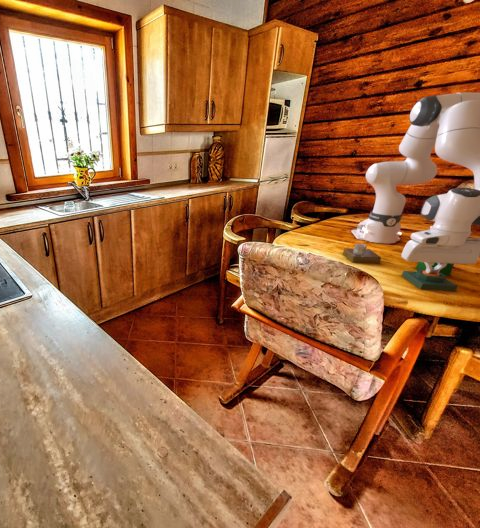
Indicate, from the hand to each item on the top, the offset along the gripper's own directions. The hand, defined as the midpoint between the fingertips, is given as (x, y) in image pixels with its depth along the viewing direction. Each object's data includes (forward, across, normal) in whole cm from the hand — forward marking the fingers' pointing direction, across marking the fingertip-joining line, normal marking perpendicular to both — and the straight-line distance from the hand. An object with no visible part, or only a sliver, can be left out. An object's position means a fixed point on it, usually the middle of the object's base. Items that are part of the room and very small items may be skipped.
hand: (431, 273), depth 101 cm
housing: (+4, 0, 0) cm, 4 cm away
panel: (+4, +12, -22) cm, 25 cm away
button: (+2, 0, 0) cm, 2 cm away
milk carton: (+4, -8, -11) cm, 14 cm away
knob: (+1, +14, -21) cm, 25 cm away
